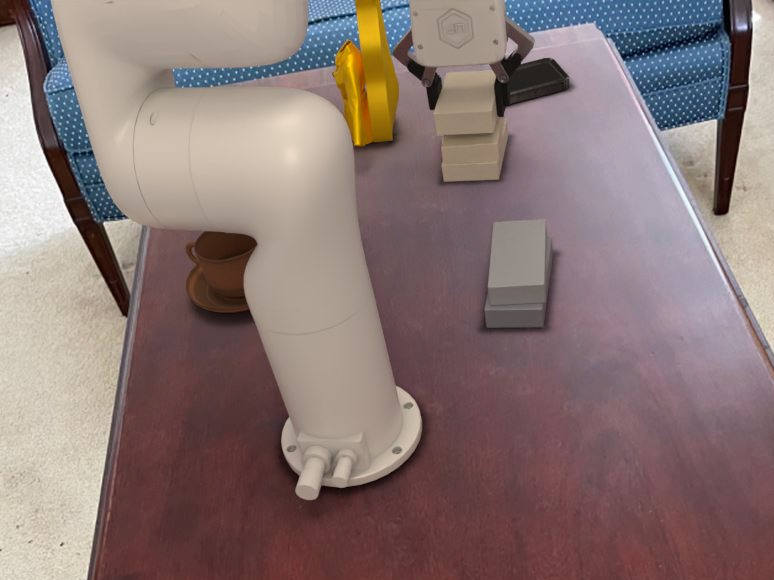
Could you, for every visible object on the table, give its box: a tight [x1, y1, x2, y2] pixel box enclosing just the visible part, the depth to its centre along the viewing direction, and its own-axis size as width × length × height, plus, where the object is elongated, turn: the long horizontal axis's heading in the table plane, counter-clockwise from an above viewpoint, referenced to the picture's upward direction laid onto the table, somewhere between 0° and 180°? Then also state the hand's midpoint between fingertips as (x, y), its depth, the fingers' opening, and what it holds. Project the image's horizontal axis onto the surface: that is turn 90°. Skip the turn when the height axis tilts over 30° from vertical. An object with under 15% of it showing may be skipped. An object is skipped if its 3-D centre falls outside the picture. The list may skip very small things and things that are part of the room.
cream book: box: [432, 69, 498, 136], centre depth 108 cm, size 10×7×3 cm, turn 172°
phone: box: [509, 57, 570, 105], centre depth 124 cm, size 8×1×15 cm
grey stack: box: [483, 218, 554, 329], centre depth 94 cm, size 12×6×4 cm, turn 172°
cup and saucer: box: [184, 231, 258, 314], centre depth 99 cm, size 12×12×6 cm
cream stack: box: [440, 115, 509, 183], centre depth 112 cm, size 10×7×4 cm
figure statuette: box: [331, 0, 400, 148], centre depth 113 cm, size 18×8×22 cm, turn 5°
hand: (470, 111), depth 109 cm, fingers closed on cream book, 6 cm apart
